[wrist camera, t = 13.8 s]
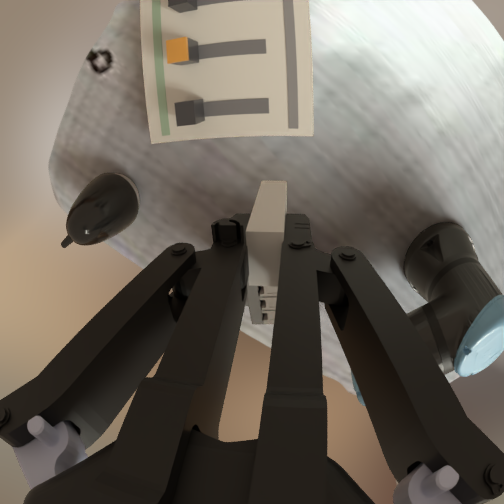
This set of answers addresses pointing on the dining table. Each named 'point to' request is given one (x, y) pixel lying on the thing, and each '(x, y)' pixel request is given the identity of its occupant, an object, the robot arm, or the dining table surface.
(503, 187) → the dining table surface
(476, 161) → the dining table surface
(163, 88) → the breaker panel
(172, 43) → the block
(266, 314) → the circuit breaker
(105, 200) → the pump dispenser
